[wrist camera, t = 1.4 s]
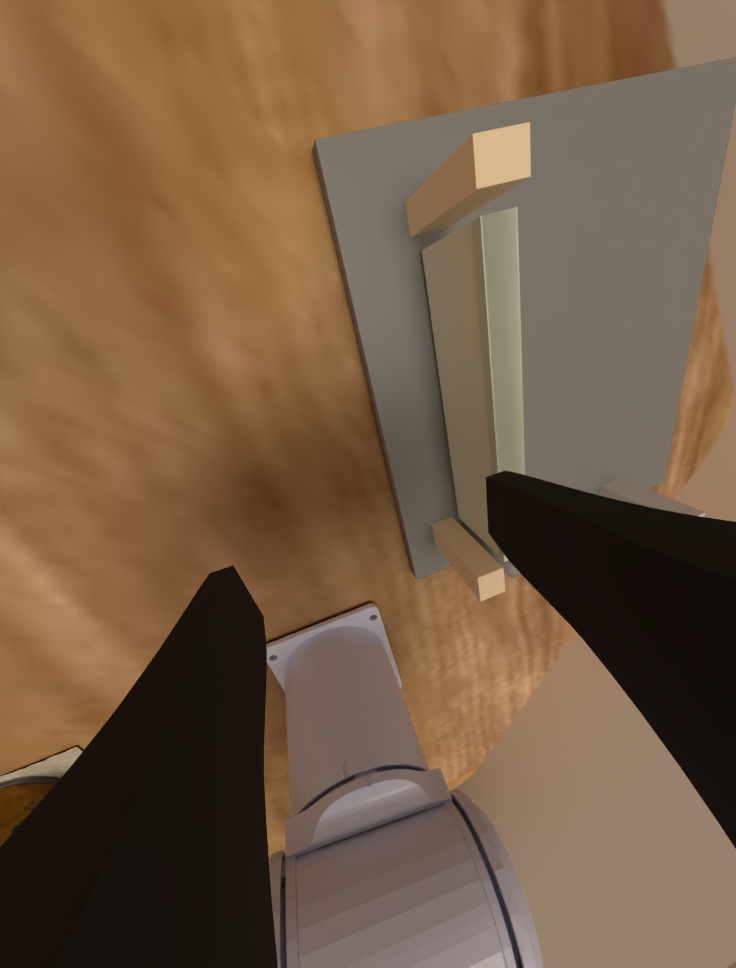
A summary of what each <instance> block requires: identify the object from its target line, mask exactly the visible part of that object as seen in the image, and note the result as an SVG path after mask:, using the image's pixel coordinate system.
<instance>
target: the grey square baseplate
mask: <svg viewBox="0 0 736 968" xmlns="http://www.w3.org/2000/svg"><path fill="white" fill-rule="evenodd" d="M735 103H736V57H735V58H730V59H725V60H719V61H714V62H709V63H705V64H699V65H694V66H689V67H683V68H678V69H673V70H668V71H663V72H658V73H653V74H648V75H642V76H637V77H632V78H627V79H622V80H617V81H612V82H607V83H602V84H596V85H591V86H586V87H581V88H576V89H571V90H566V91H561V92H555V93H550V94H545V95H540V96H535V97H530V98H525V99H520V100H514V101H509V102H504V103H499V104H494V105H489V106H484V107H479V108H473V109H468V110H463V111H458V112H453V113H448V114H443V115H438V116H432V117H427V118H422V119H417V120H412V121H407V122H402V123H397V124H391V125H386V126H381V127H376V128H371V129H366V130H361V131H356V132H351V133H345V134H340V135H335V136H330V137H325V138H320V139H315V142H314V146H313V154H314V158H315V162H316V167H317V171H318V175H319V179H320V184H321V188H322V192H323V196H324V201H325V205H326V209H327V213H328V218H329V222H330V226H331V230H332V235H333V239H334V243H335V247H336V251H337V256H338V260H339V264H340V268H341V273H342V277H343V281H344V285H345V290H346V294H347V298H348V302H349V307H350V311H351V315H352V319H353V324H354V328H355V332H356V336H357V340H358V345H359V349H360V353H361V357H362V362H363V366H364V370H365V374H366V379H367V383H368V387H369V391H370V396H371V400H372V404H373V408H374V413H375V417H376V421H377V425H378V429H379V434H380V438H381V442H382V446H383V451H384V455H385V459H386V463H387V468H388V472H389V476H390V480H391V485H392V489H393V493H394V497H395V502H396V506H397V510H398V514H399V518H400V523H401V527H402V531H403V535H404V540H405V544H406V548H407V552H408V557H409V561H410V565H411V569H412V573H413V574H414V576H415V578H416V579H419V578H422V577H424V576H427V575H430V574H432V573H435V572H437V571H440V570H442V569H445V568H447V567H450V566H453V568H454V569H455V570H456V571H457V573H458V574H459V575H460V577H461V578H462V579H463V580H464V582H465V583H466V584H467V585H468V587H469V588H470V589H471V590H472V592H473V593H474V594H475V595H476V597H477V598H478V599H479V600H480V602H481V601H483V600H486V599H488V598H490V597H493V596H495V595H498V594H500V593H503V592H505V583H504V569H503V567H502V566H501V565H500V564H499V563H498V562H497V561H496V560H495V559H494V558H493V557H492V556H491V555H490V554H489V553H488V552H487V551H486V550H485V549H484V548H483V547H482V546H481V545H480V544H479V543H478V542H477V541H476V540H475V539H474V538H473V537H472V536H471V535H470V534H469V533H468V532H467V531H466V530H465V529H464V528H463V527H462V523H463V521H462V520H461V519H460V518H459V516H458V509H457V502H456V495H455V487H454V480H453V473H452V466H451V459H450V451H449V444H448V437H447V430H446V423H445V415H444V408H443V401H442V394H441V386H440V379H439V372H438V365H437V358H436V350H435V343H434V336H433V329H432V321H431V314H430V307H429V300H428V293H427V285H426V278H425V271H424V264H423V257H422V250H424V249H425V248H427V247H429V246H430V245H432V244H434V243H436V242H437V241H439V240H441V239H442V238H444V237H446V236H448V235H449V234H451V233H453V232H454V231H456V230H458V229H460V228H461V227H463V226H465V225H466V224H468V223H470V222H471V221H472V220H474V219H476V218H477V217H479V216H482V215H486V214H490V213H494V212H498V211H502V210H507V209H511V208H515V207H517V208H518V244H519V280H520V315H521V351H522V387H523V423H524V459H525V475H527V476H530V477H534V478H538V479H541V480H545V481H548V482H552V483H555V484H559V485H563V486H566V487H570V488H573V489H577V490H581V491H584V492H588V493H592V494H596V495H600V496H604V497H608V498H612V499H616V500H620V501H625V502H629V503H633V504H638V505H642V506H646V507H651V508H656V509H661V510H666V511H672V512H677V513H683V514H689V515H695V516H700V517H704V515H705V512H703V511H700V510H697V509H695V508H693V507H690V506H687V505H685V504H683V503H680V502H678V501H675V500H673V499H670V498H668V497H665V496H663V495H660V494H658V493H655V492H653V491H650V490H648V489H649V488H651V487H654V486H656V485H659V484H661V483H664V481H665V476H666V470H667V465H668V460H669V454H670V449H671V444H672V438H673V433H674V428H675V422H676V417H677V412H678V406H679V401H680V396H681V390H682V385H683V380H684V375H685V369H686V364H687V359H688V353H689V348H690V343H691V337H692V332H693V327H694V321H695V316H696V311H697V305H698V300H699V295H700V289H701V284H702V279H703V273H704V268H705V263H706V257H707V252H708V247H709V241H710V236H711V231H712V224H713V220H714V215H715V209H716V204H717V199H718V193H719V188H720V183H721V177H722V172H723V167H724V161H725V156H726V151H727V145H728V140H729V135H730V129H731V124H732V119H733V113H734V108H735Z"/></svg>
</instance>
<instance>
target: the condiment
mask: <svg viewBox="0 0 736 968" xmlns="http://www.w3.org/2000/svg"><path fill="white" fill-rule="evenodd" d="M82 752H83V751H81V750H80V749H79V748H78V747H75V748H72V749H70V750H67V751H66V752H64V753H61V754H58V755H54V756H52V757H50V758H48V759H46V760H44V761H42V762H38V763H36V764H33V765H30V766H28V767H27V768H24V769H20V770H18V771H15V772H12V773H10V774H6V775H3V776H0V847H1V845H2V844H3V843H4V842H5V841H6V840H7V839H8V837H9V836H10V835H11V834H12V833H13V832H14V831H15V830H16V828H17V827H18V826H19V825H20V824H21V823H22V822H23V821H24V819H25V818H26V817H27V816H28V815H29V814H30V813H31V811H32V810H33V809H34V808H35V807H36V806H37V805H38V804H39V802H40V801H41V800H42V799H43V798H44V797H45V796H46V795H47V793H48V792H49V791H50V790H51V789H52V788H53V787H54V785H55V784H56V783H57V782H58V781H59V780H60V779H61V777H62V776H63V774H65V773H66V771H67V770H68V769H69V768H70V767H71V765H72V764H73V763H74V762H75V761H76V759H77V758H78V757H79V756H80V754H81V753H82ZM55 774H61V775H60V776H57V775H55Z"/></svg>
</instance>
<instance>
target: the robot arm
mask: <svg viewBox="0 0 736 968" xmlns="http://www.w3.org/2000/svg"><path fill="white" fill-rule="evenodd" d="M486 495H487V517H488V533H489V534H490V536H491V537H492V539H493V540H494V541H495V543H496V544H497V546H498V547H499V548H500V550H501V551H502V552H503V554H504V555H505V556H506V558H507V559H508V560H509V561H510V562H511V564H512V565H513V566H514V567H515V568H516V569H517V570H518V571H519V572H520V573H521V574H522V575H523V576H524V577H525V578H526V579H527V580H528V582H529V583H530V584H531V585H532V586H533V587H534V588H535V589H536V590H537V591H538V592H539V593H540V594H541V595H542V596H543V597H544V598H545V599H546V600H547V601H548V602H549V603H550V604H551V605H552V606H553V607H554V608H555V609H556V610H557V611H558V613H559V614H560V615H561V616H562V617H563V618H564V619H565V620H566V621H567V622H568V623H569V624H570V625H571V626H572V627H573V628H574V630H575V631H576V632H577V633H578V634H579V635H580V636H581V637H582V638H583V640H584V641H585V642H586V643H587V645H588V646H589V647H590V648H591V649H592V651H593V652H594V653H595V655H596V656H597V657H598V658H599V659H600V661H601V662H602V663H603V664H604V666H605V667H606V668H607V669H608V671H609V672H610V673H611V674H612V676H613V677H614V678H615V680H616V681H617V682H618V684H619V685H620V686H621V687H622V689H623V690H624V691H625V693H626V694H627V695H628V697H629V698H630V699H631V700H632V702H633V703H634V704H635V706H636V707H637V708H638V710H639V711H640V712H641V713H642V715H643V716H644V717H645V719H646V720H647V722H648V723H649V724H650V726H651V727H652V729H653V730H654V731H655V733H656V734H657V735H658V737H659V738H660V740H661V741H662V742H663V744H664V745H665V746H666V748H667V749H668V751H669V752H670V753H671V754H672V756H673V757H674V759H675V760H676V762H677V763H678V764H679V766H680V767H681V769H682V770H683V772H684V773H685V774H686V776H687V777H688V779H689V780H690V782H691V783H692V785H693V786H694V788H695V789H696V790H697V792H698V793H699V795H700V796H701V798H702V799H703V801H704V802H705V804H706V805H707V806H708V808H709V809H710V811H711V812H712V814H713V815H714V817H715V818H716V820H717V821H718V822H719V824H720V825H721V827H722V829H723V830H724V831H725V833H726V835H727V836H728V838H729V839H730V841H731V842H732V844H733V845H734V847H735V848H736V522H732V521H726V520H719V519H712V518H706V517H700V516H695V515H689V514H683V513H677V512H672V511H666V510H661V509H656V508H651V507H646V506H642V505H638V504H633V503H629V502H625V501H620V500H616V499H612V498H608V497H604V496H600V495H596V494H592V493H588V492H584V491H581V490H577V489H573V488H570V487H566V486H563V485H559V484H555V483H552V482H548V481H545V480H541V479H538V478H534V477H530V476H527V475H523V474H519V473H515V472H510V471H502V472H499V473H496V474H493V475H491V476H488V477H486ZM372 615H374V616H372ZM272 655H274V656H272ZM267 663H268V665H269V667H270V668H271V670H272V672H273V673H274V675H275V677H276V679H277V680H278V682H279V684H280V685H281V687H282V689H283V690H284V692H285V699H286V724H287V750H288V775H289V801H290V817H289V818H287V819H286V820H285V842H286V855H285V852H284V850H282V851H279V852H276V853H273V854H272V855H271V856H270V858H269V856H268V842H267V828H266V809H265V790H264V727H265V700H266V669H267ZM401 687H402V682H401V679H400V676H399V673H398V670H397V666H396V663H395V660H394V657H393V654H392V651H391V648H390V644H389V641H388V638H387V635H386V632H385V629H384V626H383V622H382V619H381V616H380V613H379V610H378V607H377V605H376V604H374V603H370V604H367V605H364V606H362V607H359V608H357V609H354V610H352V611H349V612H347V613H344V614H342V615H339V616H336V617H334V618H331V619H329V620H326V621H324V622H321V623H319V624H316V625H314V626H311V627H309V628H306V629H304V630H301V631H299V632H296V633H293V634H291V635H288V636H286V637H283V638H281V639H278V640H276V641H273V642H271V643H268V644H266V636H265V627H264V617H263V615H262V613H261V611H260V610H259V608H258V606H257V605H256V603H255V601H254V600H253V598H252V596H251V595H250V593H249V591H248V590H247V588H246V586H245V585H244V583H243V581H242V579H241V578H240V576H239V574H238V573H237V571H236V569H235V568H234V566H230V567H227V568H224V569H221V570H218V571H216V572H213V573H210V574H209V575H208V577H207V578H206V579H205V581H204V582H203V584H202V585H201V587H200V588H199V590H198V591H197V593H196V594H195V596H194V597H193V599H192V601H191V602H190V604H189V605H188V607H187V608H186V610H185V611H184V613H183V615H182V616H181V618H180V619H179V621H178V622H177V624H176V625H175V627H174V628H173V630H172V631H171V633H170V634H169V636H168V637H167V639H166V640H165V642H164V643H163V645H162V646H161V648H160V649H159V651H158V652H157V654H156V655H155V656H154V658H153V659H152V661H151V662H150V663H149V665H148V666H147V668H146V669H145V670H144V672H143V673H142V675H141V676H140V677H139V679H138V680H137V682H136V683H135V684H134V686H133V687H132V689H131V690H130V691H129V693H128V694H127V696H126V697H125V698H124V700H123V701H122V702H121V704H120V705H119V706H118V708H117V709H116V710H115V712H114V713H113V714H112V716H111V717H110V718H109V719H108V721H107V722H106V723H105V725H104V726H103V727H102V728H101V730H100V731H99V732H98V734H97V735H96V736H95V737H94V738H93V740H92V741H91V742H90V743H89V745H88V746H87V747H86V748H85V749H84V751H83V752H82V753H81V754H80V756H79V757H78V758H77V759H76V761H75V762H74V763H73V764H72V765H71V767H70V768H69V769H68V770H67V771H66V773H65V774H64V775H63V776H62V777H61V779H60V780H59V781H58V782H57V783H56V784H55V785H54V787H53V788H52V789H51V790H50V791H49V792H48V793H47V795H46V796H45V797H44V798H43V799H42V800H41V801H40V802H39V804H38V805H37V806H36V807H35V808H34V809H33V810H32V811H31V813H30V814H29V815H28V816H27V817H26V818H25V819H24V821H23V822H22V823H21V824H20V825H19V826H18V827H17V828H16V830H15V831H14V832H13V833H12V834H11V835H10V836H9V837H8V839H7V840H6V841H5V842H4V843H3V844H2V845H1V847H0V968H543V962H542V956H541V950H540V946H539V941H538V937H537V933H536V929H535V926H534V922H533V919H532V915H531V912H530V909H529V906H528V903H527V900H526V897H525V894H524V892H523V889H522V886H521V883H520V881H519V878H518V876H517V873H516V871H515V869H514V866H513V864H512V862H511V860H510V857H509V855H508V853H507V851H506V849H505V846H504V844H503V842H502V840H501V839H500V837H499V835H498V833H497V831H496V829H495V828H494V826H493V824H492V823H491V821H490V820H489V818H488V817H487V815H486V814H485V812H484V811H483V810H482V809H481V808H480V807H479V806H478V805H477V804H476V803H475V802H473V801H472V800H471V799H470V798H469V796H467V794H465V793H464V792H462V791H461V790H452V791H449V790H448V787H447V785H446V782H445V779H444V777H443V774H442V772H441V769H439V768H438V769H434V770H430V769H429V767H428V764H427V761H426V758H425V756H424V753H423V750H422V748H421V745H420V742H419V739H418V737H417V734H416V731H415V728H414V726H413V723H412V720H411V718H410V715H409V712H408V709H407V707H406V704H405V701H404V699H403V696H402V693H401V690H400V688H401ZM727 968H736V962H735V963H733V964H732V965H730V966H728V967H727Z"/></svg>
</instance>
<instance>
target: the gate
mask: <svg viewBox="0 0 736 968" xmlns="http://www.w3.org/2000/svg"><path fill="white" fill-rule="evenodd" d="M422 257H423V264H424V271H425V278H426V285H427V293H428V300H429V307H430V314H431V321H432V329H433V336H434V343H435V350H436V358H437V365H438V372H439V379H440V386H441V394H442V401H443V408H444V415H445V423H446V430H447V437H448V444H449V451H450V459H451V466H452V473H453V480H454V487H455V495H456V502H457V509H458V516H459V518H460V519H461V520H462V521H463V523H462V527H463V528H464V529H465V530H466V531H467V532H468V533H469V534H470V535H471V536H472V537H473V538H474V539H475V540H476V541H477V542H478V543H479V544H480V545H481V546H482V547H483V548H484V549H485V550H486V551H487V552H488V553H489V554H490V555H491V556H492V557H493V558H494V559H495V560H496V561H497V562H498V563H499V564H500V565H501V566H502V567H503V569H504V572H505V573H506V574H507V575H508V576H509V577H511V578H515V577H518V576H519V575H521V573H520V572H519V571H518V570H517V569H516V568H515V567H514V566H513V565H512V564H511V562H510V561H509V560H508V559H507V558H506V556H505V555H504V554H503V552H502V551H501V550H500V548H499V547H498V546H497V544H496V543H495V541H494V540H493V539H492V537H491V536H490V534H489V533H488V517H487V495H486V477H488V476H491V475H493V474H496V473H499V472H502V471H510V472H515V473H519V474H523V475H525V459H524V423H523V387H522V351H521V315H520V280H519V244H518V208H517V207H515V208H511V209H507V210H502V211H498V212H494V213H490V214H486V215H482V216H479V217H477V218H476V219H474V220H472V221H471V222H470V223H468V224H466V225H465V226H463V227H461V228H460V229H458V230H456V231H454V232H453V233H451V234H449V235H448V236H446V237H444V238H442V239H441V240H439V241H437V242H436V243H434V244H432V245H430V246H429V247H427V248H425V249H424V250H422Z"/></svg>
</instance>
